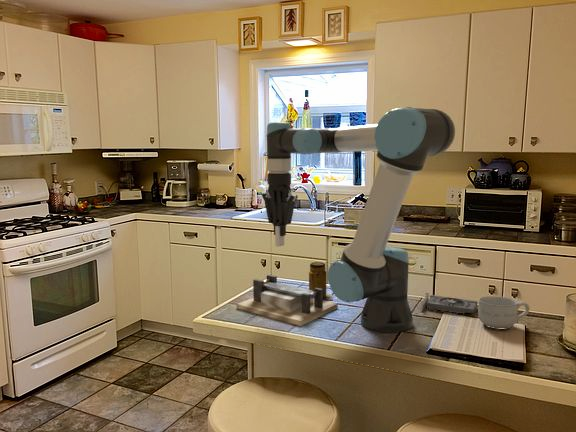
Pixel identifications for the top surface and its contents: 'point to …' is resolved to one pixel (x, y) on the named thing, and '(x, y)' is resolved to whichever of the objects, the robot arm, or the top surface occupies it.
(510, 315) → the teacup
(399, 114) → the robot arm
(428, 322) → the top surface
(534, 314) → the top surface
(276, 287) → the retention strap
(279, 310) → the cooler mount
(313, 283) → the condiment
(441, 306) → the graphics card
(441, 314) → the top surface
